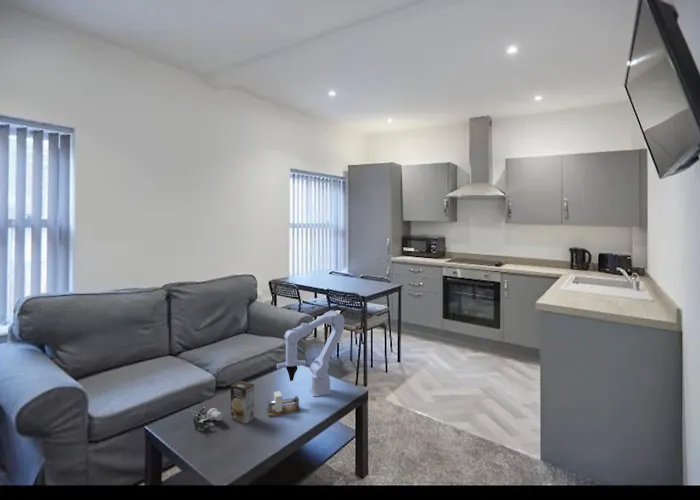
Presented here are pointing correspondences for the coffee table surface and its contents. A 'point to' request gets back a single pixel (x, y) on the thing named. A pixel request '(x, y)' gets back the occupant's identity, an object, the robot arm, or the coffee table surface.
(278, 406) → the white block on rod
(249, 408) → the coffee box
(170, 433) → the coffee table surface
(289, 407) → the rod jig
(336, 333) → the robot arm
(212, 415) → the clip-on lamp
